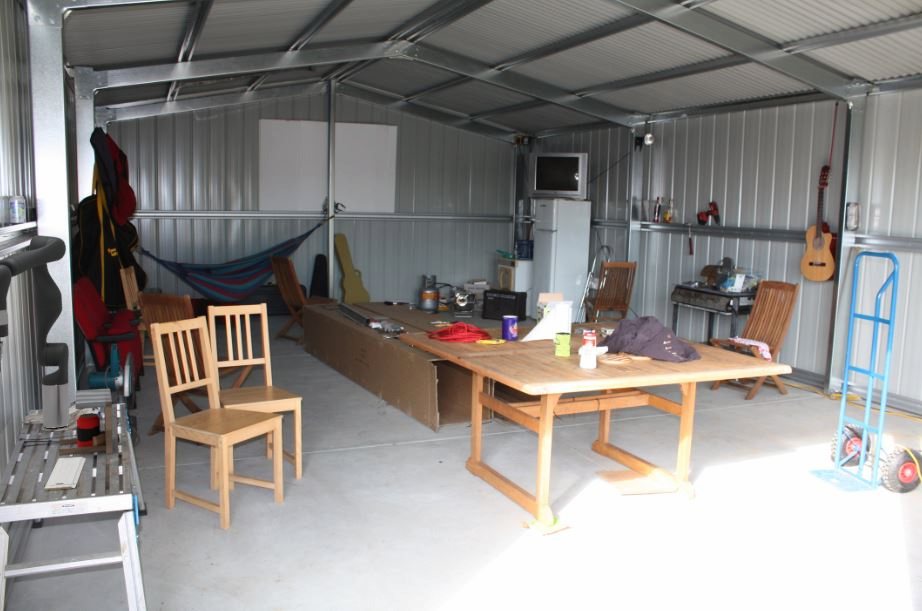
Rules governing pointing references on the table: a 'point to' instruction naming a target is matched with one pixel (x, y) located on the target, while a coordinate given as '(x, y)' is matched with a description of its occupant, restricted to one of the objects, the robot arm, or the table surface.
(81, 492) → the table surface
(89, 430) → the soda can
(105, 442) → the overhang shelf
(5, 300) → the robot arm
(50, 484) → the baseboard
